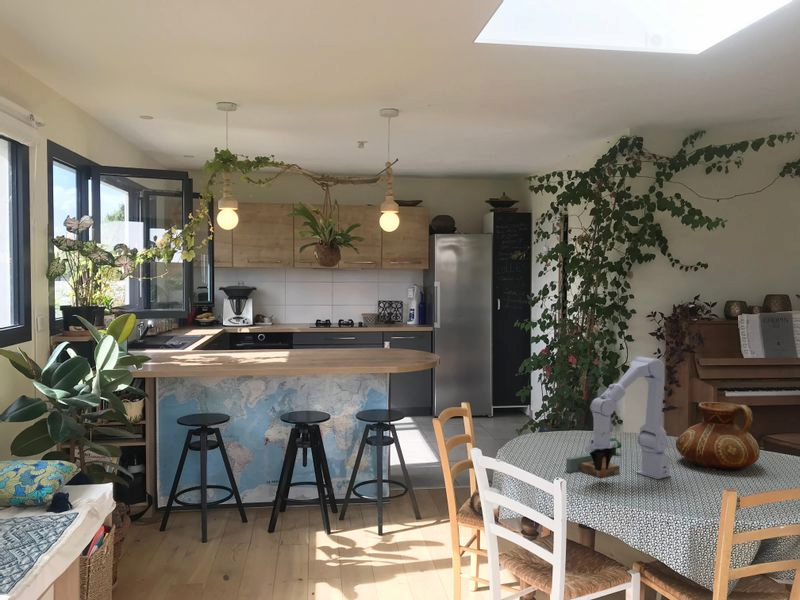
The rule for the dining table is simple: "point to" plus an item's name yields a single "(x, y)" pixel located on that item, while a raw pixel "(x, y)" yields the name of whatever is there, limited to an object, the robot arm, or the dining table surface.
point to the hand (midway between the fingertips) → (601, 469)
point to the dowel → (603, 469)
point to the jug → (720, 439)
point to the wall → (576, 462)
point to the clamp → (613, 447)
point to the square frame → (590, 469)
